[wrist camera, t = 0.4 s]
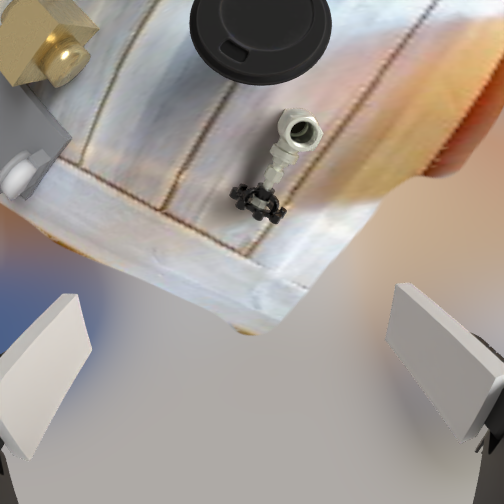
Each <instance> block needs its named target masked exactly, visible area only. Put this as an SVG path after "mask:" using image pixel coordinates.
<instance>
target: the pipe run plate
mask: <svg viewBox="0 0 504 504" xmlns="http://www.w3.org/2000/svg"><path fill="white" fill-rule="evenodd" d="M71 139H72V137H71V136H70V135H69V134H68V133H67V132H66V130H65V129H64V128H63V127H62V126H61V125H60V124H59V122H58V121H57V120H56V119H55V118H54V117H53V115H52V114H51V113H50V112H49V111H48V110H47V108H46V107H45V106H44V105H43V104H42V103H41V101H40V100H39V99H38V98H37V97H36V95H35V94H34V93H33V92H32V91H31V89H30V88H29V87H28V86H27V85H26V84H22V85H18V86H14V87H12V85H11V84H10V83H9V82H8V80H7V79H6V78H5V76H4V75H3V74H2V73H1V71H0V194H1V193H4V194H5V195H6V196H7V197H8V199H9V200H10V201H12V200H14V199H15V198H17V197H18V196H19V195H21V196H22V197H23V198H24V200H26V199H28V198H29V197H30V196H31V195H32V193H33V192H34V190H35V189H36V187H37V186H38V184H39V183H40V181H41V180H42V178H43V177H44V175H45V174H46V173H47V171H48V170H49V168H50V167H51V166H52V164H53V163H54V162H55V160H56V159H57V157H58V156H59V155H60V153H61V152H62V151H63V150H64V148H65V147H66V146H67V144H68V143H69V142H70V141H71Z"/></svg>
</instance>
